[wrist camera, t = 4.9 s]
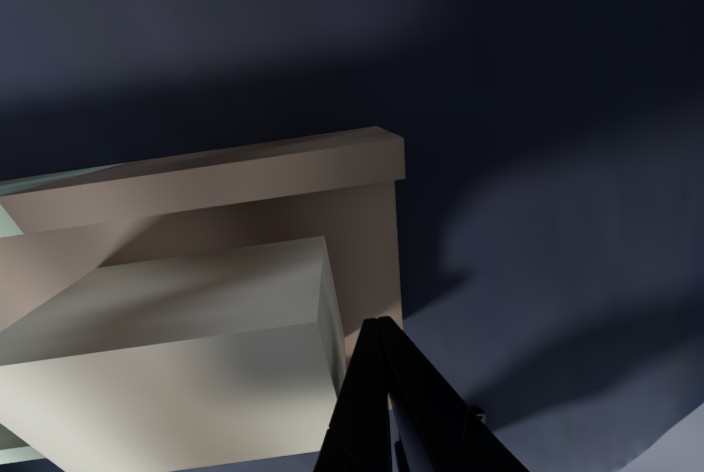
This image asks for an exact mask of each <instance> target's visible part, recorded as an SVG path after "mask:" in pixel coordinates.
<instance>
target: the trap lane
mask: <svg viewBox="0 0 704 472" xmlns="http://www.w3.org/2000/svg"><path fill="white" fill-rule="evenodd" d="M400 179H405V155H404V138H403V137H401V136H399V135H396V134H394V133H392V132H389V131H387V130H385V129H382V128H380V127H378V126H374V127H367V128H360V129H353V130H346V131H340V132H333V133H326V134H319V135H312V136H305V137H299V138H292V139H285V140H278V141H271V142H264V143H258V144H251V145H244V146H237V147H230V148H223V149H217V150H210V151H203V152H196V153H189V154H182V155H176V156H169V157H162V158H155V159H148V160H141V161H135V162H128V163H121V164H114V165H107V166H100V167H94V168H87V169H80V170H73V171H66V172H59V173H53V174H46V175H39V176H32V177H25V178H18V179H12V180H5V181H0V332H2V331H3V330H4V329H6V328H7V327H9V326H10V325H12V324H13V323H15V322H16V321H18V320H19V319H21V318H22V317H24V316H25V315H27V314H28V313H30V312H31V311H33V310H34V309H36V308H37V307H39V306H40V305H42V304H43V303H45V302H46V301H48V300H49V299H51V298H52V297H54V296H55V295H57V294H58V293H60V292H61V291H63V290H64V289H66V288H67V287H69V286H70V285H72V284H73V283H75V282H76V281H78V280H79V279H81V278H82V277H84V276H85V275H87V274H88V273H90V272H91V271H93V270H94V269H96V268H101V267H108V266H115V265H122V264H129V263H136V262H143V261H150V260H157V259H164V258H171V257H178V256H185V255H192V254H199V253H206V252H213V251H220V250H227V249H234V248H241V247H248V246H255V245H262V244H269V243H276V242H283V241H290V240H297V239H305V238H312V237H319V236H325V241H326V246H327V251H328V256H329V261H330V267H331V272H332V277H333V282H334V287H335V292H336V297H337V302H338V307H339V312H340V317H341V322H342V327H343V332H344V337H345V358H346V371H347V368H348V365H349V362H350V359H351V356H352V353H353V350H354V347H355V344H356V341H357V338H358V335H359V332H360V329H361V326H362V323H363V320H364V319H367V318H374V317H375V318H378V317H382V316H390V317H391V318H392V319H393V320H394V321H395V322H396V323H397V325H398V326H399V327H400V328H401V329H402V330H403V325H402V307H401V290H400V272H399V255H398V237H397V219H396V202H395V184H394V180H400ZM388 401H389V410H390V409H392V405H391V402H390V398H389V394H388ZM42 458H46V457H45V456H44V455H42V454H41V453H40V452H38V451H37V450H36V449H34V448H33V447H32V446H30V445H29V444H28V443H26V442H25V441H24V440H22V439H21V438H20V437H18V436H17V435H16V434H14V433H13V432H12V431H10V430H9V429H8V428H6V427H5V426H4V425H2V424H1V423H0V464H6V463H13V462H20V461H27V460H34V459H42Z"/></svg>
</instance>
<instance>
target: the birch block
mask: <svg viewBox="0 0 704 472" xmlns="http://www.w3.org/2000/svg"><path fill="white" fill-rule="evenodd" d="M345 374H346V358H345V337H344V332H343V327H342V322H341V317H340V312H339V307H338V302H337V297H336V292H335V287H334V282H333V277H332V272H331V267H330V261H329V256H328V251H327V246H326V241H325V236H319V237H312V238H305V239H297V240H290V241H283V242H276V243H269V244H262V245H255V246H248V247H241V248H234V249H227V250H220V251H213V252H206V253H199V254H192V255H185V256H178V257H171V258H164V259H157V260H150V261H143V262H136V263H129V264H122V265H115V266H108V267H101V268H96V269H94V270H93V271H91V272H90V273H88V274H87V275H85V276H84V277H82V278H81V279H79V280H78V281H76V282H75V283H73V284H72V285H70V286H69V287H67V288H66V289H64V290H63V291H61V292H60V293H58V294H57V295H55V296H54V297H52V298H51V299H49V300H48V301H46V302H45V303H43V304H42V305H40V306H39V307H37V308H36V309H34V310H33V311H31V312H30V313H28V314H27V315H25V316H24V317H22V318H21V319H19V320H18V321H16V322H15V323H13V324H12V325H10V326H9V327H7V328H6V329H4V330H3V331H2V332H0V423H1V424H2V425H4V426H5V427H6V428H8V429H9V430H10V431H12V432H13V433H14V434H16V435H17V436H18V437H20V438H21V439H22V440H24V441H25V442H26V443H28V444H29V445H30V446H32V447H33V448H34V449H36V450H37V451H38V452H40V453H41V454H42V455H44V456H45V457H46V458H48V459H49V460H50V461H52V462H53V463H54V464H56V465H57V466H58V467H60V468H61V469H62V470H64V471H65V472H169V471H176V470H184V469H191V468H198V467H206V466H213V465H220V464H227V463H235V462H242V461H249V460H256V459H264V458H271V457H278V456H286V455H293V454H300V453H307V452H315V451H320V449H321V446H322V443H323V440H324V437H325V434H326V431H327V429H329V423H330V419H331V416H332V413H333V410H334V407H335V404H336V401H337V398H338V395H339V392H340V389H341V386H342V383H343V380H344V377H345Z"/></svg>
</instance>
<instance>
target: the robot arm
mask: <svg viewBox="0 0 704 472" xmlns="http://www.w3.org/2000/svg"><path fill="white" fill-rule="evenodd" d="M388 394H389V398H390V402H391V405H392V409H393V412H394V416H395V419H396V423H397V426H398V433H399V441H396V443H395V444H394V447H395V456H396V463H397V469H398V472H530V471H529V470H528V469H527V468H526V467H525V466H524V465H523V464H522V463H521V462H520V461H519V460H518V459H517V458H516V457H515V456H514V455H513V454H512V453H511V452H510V451H509V450H508V449H507V448H506V447H505V446H504V445H503V444H502V443H501V442H500V441H499V440H498V439H497V438H496V436H495V435H494V434H493V433H492V432H491V431H490V430H489V429H488V428H487V427H486V426H485V420H486V415H485V413H484V411H483V409H481V408H476V409H469V406H468V405H467V404H466V403H465V402H464V400H463V399H462V398H461V397H460V396H459V395H458V394H457V392H456V391H455V390H454V389H453V388H452V387H451V386H450V384H449V383H448V382H447V381H446V380H445V379H444V377H443V376H442V375H441V374H440V373H439V372H438V371H437V369H436V368H435V367H434V366H433V365H432V364H431V363H430V361H429V360H428V359H427V358H426V357H425V356H424V354H423V353H422V352H421V351H420V350H419V349H418V348H417V346H416V345H415V344H414V343H413V342H412V341H411V340H410V338H409V337H408V336H407V335H406V334H405V333H404V331H403V330H402V329H401V328H400V327H399V326H398V325H397V323H396V322H395V321H394V320H393V319H392V318H391V317H390V316H382V317H378V318H375V317H374V318H367V319H364V320H363V323H362V326H361V329H360V332H359V335H358V338H357V341H356V344H355V347H354V350H353V353H352V356H351V359H350V362H349V365H348V368H347V371H346V374H345V377H344V380H343V383H342V386H341V389H340V392H339V395H338V398H337V401H336V404H335V407H334V410H333V413H332V416H331V419H330V423H329V429H327V431H326V434H325V437H324V440H323V443H322V446H321V449H320V452H319V454H318V457H317V460H316V463H315V465H314V468H313V471H312V472H393V471H392V454H391V436H390V418H389V401H388Z"/></svg>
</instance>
